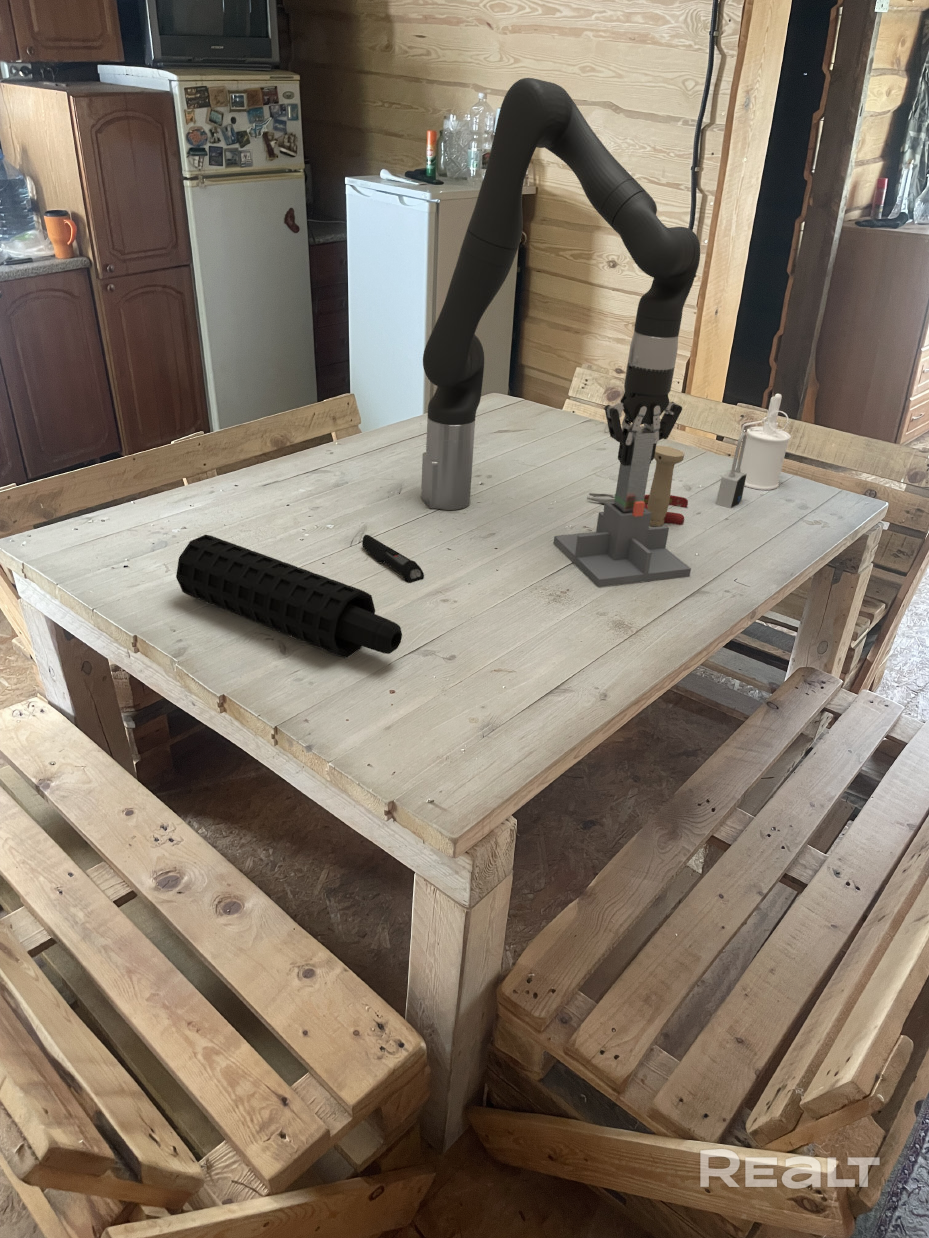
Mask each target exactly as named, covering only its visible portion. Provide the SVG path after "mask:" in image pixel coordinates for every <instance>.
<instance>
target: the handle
mask: <svg viewBox="0 0 929 1238" xmlns="http://www.w3.org/2000/svg"><path fill="white" fill-rule="evenodd" d="M684 457H685V453H684V451H681V450H679V449H678V448H674V447H671V446H665V445H656V450H655V456H654V459H653V460H655V463H656V465H655V469H654V474H653V479H652V483H651V487H650V491H649V494H648V495H649V500H648V511H650V512H651V513H652V514H651V519H650V525H649V527H662V526H663V525H664V520H665V519H664V518H665V515H666V513H667V512H668V508H669V506H670V505H669V500H670V495H671V492H672V491H671V490H672V483H673V476H674V470H675V469H674V468H675V465H677V464H679V463H682V462H683V461H684Z"/></svg>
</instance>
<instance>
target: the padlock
mask: <svg viewBox="0 0 929 1238" xmlns="http://www.w3.org/2000/svg"><path fill="white" fill-rule="evenodd" d="M746 438H747V432H743V433H742V434H741V433H740V436H739V437H738V439H737V444H736V446H735V447H736V448H735V451H734V457H733V461H732V466H731V470H728V471H726V472H725V473H724V474H723V475H722V476H721V479H720V484H719V487H718V488H719V489H718V492H717V497H716V501H715V505H717V506H721V507H725V508H728V509H732V508H734V507H736V506H737V505H739V503H740V502H741V501H742V499H743V495H744V490H745V486H744V485H745V480H746V475H747V474H746V473H742V472H740V471H741V469H740V467H741V462H742V458H743V453H744V448H745V444H746ZM739 449H740V450H739Z"/></svg>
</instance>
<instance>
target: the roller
mask: <svg viewBox="0 0 929 1238" xmlns="http://www.w3.org/2000/svg"><path fill="white" fill-rule="evenodd" d="M175 578H176V580H177V582H178V585H179V587H180V589H181V592H182V593H184V594H185V595H187V596H190V597H192V598H195V599H197V600H199V601H202V602H205V603H207V604H209V605H212V606H214V607H217V608H218V609H222V610H224V611H227V612H230V613H232V614H234V615H236V616H238V617H242V618H244V619H246V620H248V621H251V622H254V623H257V624H260V625H261V626H263V627H265V628H268V629H270V630H274V631H276V632H278V633H280V634H283V635H285V636H288V637H291V638H292V639H295V640H298V641H300V642H303V643H305V644H308V645H311V646H312V647H315V648H318V649H321V650H323V651H325V652H326V653H327V652H328V653H330V654H333V655H334V656H338V657H342V658H346V659H347V658H349V657H351V656H352V655H354V654H355V653H357V652H358V651H359V650H361V649H362V647H364V648H367V649H369V650H372V651H376V652H378V653H382V654H385V655H386V654H387V655H391V654H392V653H393V652H395V651H396V650H397V649H398V648H399V646H400V645H401V642H402V638H403V632H402V628H401V626H400V624H398V623H396V622H394V621H392V620H390V619H388V618H386V617H383V616H382V615H381V616H380V615H378V614H375V613H376V609H375V604H374V600H373V595H371V594H370V593H369V592H366V591H364V590H363V589H360V588H358V587H355V586H352V585H348V584H345V583H344V582H340V581H338V580H335V579H331V578H329V577H327V576H324V575H321V574H319V573H314V572H313V571H311V570H308V569H305V568H302V567H299V566H295V565H293V564H290V563H288V562H286V561H282V560H279V559H276V558H274V557H272V556H267V555H266V554H263V553H259V552H257V551H254V550H251V549H249V548H246V547H243V546H240V545H237V544H235V543H232V542H231V541H227V540H224V539H221V538H219V537H216V536H214V535H209V534H204V535H201V536H199V537H197V538H196V537H195V538H194V539H192V540H190V541H189V542H188V544H187V545H186V546H185V548H184V549H183V551H182V552H181V554H180V555H179V557H178V562H177V569H176V573H175Z"/></svg>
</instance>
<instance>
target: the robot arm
mask: <svg viewBox="0 0 929 1238" xmlns="http://www.w3.org/2000/svg"><path fill="white" fill-rule="evenodd" d="M494 129H495V130H494V134H493V139H492V144H491V148H490V153H489V157H488V161H487V164H486V169H485V173H484V175H483V179H482V182H481V185H480V189H479V192H478V195H477V198H476V202H475V205H474V209H473V212H472V215H471V217H470V220H469V222H468V225H467V229H466V231H465V235H464V237H463V238H464V239H463V241H462V244H461V246H460V251H459V253H458V258H457V261H456V264H455V267H454V270H453V274H452V276H451V279H450V281H449V282H450V283H449V286H448V289H447V293H446V296H445V299H444V302H443V306H442V308H441V310H440V313H439V314H438V317H437V320H436V322H435V324H434V327H433V329H432V332H431V334H430V335H429V338H428V340H427V342H426V344H425V347H424V351H423V354H422V355H423V356H422V367H423V371H424V374H425V376H426V378H427V379H428V380H429V382H430V383H431V384H433V385H434V386H436V390H435V392H434V394H433V395H432V397H431V398H430V400H429V401H428V404H427V419H426V422H427V424H426V443H425V447H426V448H425V452H423V453H422V460H421V462H422V463H421V465H422V466H421V483H420V484H421V485H420V486H421V487H420V488H421V491H420V499H422V500H423V502H424V503H425V505H426V506H427V507H428V509H431V510H432V509H437V510H445V511H453V510H461V509H465V508H466V507H468V506H469V505H470V503H471V496H472V494H471V491H472V488H471V487H472V476H473V459H474V447H475V446H474V444H475V431H476V430H475V428H476V416H477V415H476V414H477V410H478V407H479V405H480V403H481V399H482V398H481V397H482V390H483V382H484V372H485V371H484V370H485V351H484V348H483V347H484V346H483V345H482V342H481V340H480V338H478V336H477V335H476V332H477V331H476V330H477V328H478V325H480V324H479V323H480V321H481V319H482V318H483V315H484V314H485V312H486V311H487V309H488V307H489V306H490V304H491V303H492V302H493V300H494V298H495V297H496V296H497V294H498V292H500V290H501V288H502V286H503V285H504V282H505V281H506V279H507V278H508V275H509V273H510V271H511V269H512V266H513V263H514V261H515V258H516V255H517V252H518V250H519V247H520V244H521V239H522V235H523V229H524V228H523V227H524V221H523V220H524V219H523V218H524V217H523V216H524V214H523V187H524V182H525V178H526V174H527V173H528V168H529V167H530V164H531V161H532V159H533V155H534V153H535V151H536V150H537V149H536V148H538V149H546V150H547V151H549V152H551V153H552V154H554V155H555V156H557V158H559V159H560V160H561V161H563V162H564V163H565V165H567V166H568V168H570V170H571V171H572V172H573V174H574V175H575V176H576V178H577V180H578V182H579V184H580V185H581V188H582V190H583V193H584V194H585V196H586V198H587V200H588V201H589V203H590V204H591V205H592V207H593V208H594V210H596V212H597V213H598V214H599V215H600V217H602V219H603V220H604V221H605V222H607V224H608V226H610V227H611V228H612V229H613V230H614V231H615V233H616V234H618V235H619V237H620V239H621V240H622V242H623V245H624V246H625V249H626V250H627V252H628V254H629V255H630V257H631V258H632V260H633V262H634V263H635V265H636V266H637V267H638V268H639V269H640V270H641V271H642V272H643V273H645V274H646V275H648V276H649V277H651V278H653V279H652V283H651V286H650V288H649V289H648V290H647V292H645V293H643V295H641V297H640V298H639V302H638V305H637V310H636V316H635V323H634V329H633V335H632V338H631V342H630V345H629V352H628V357H627V366H626V372H625V378H624V385H623V387H624V393H623V396H622V397H621V399H620V402H618V403H615V404H614V405H610V404H606V405H605V407H604V412H605V416H606V417H605V418H606V422H607V423H606V424H607V426H608V431H609V437H610V438H612V439H613V440H615V441H616V442H618V443H619V447H618V453H617V460H618V461H619V463H621V464H622V465H624V466H628V465H629V462H630V456H631V450H632V445H631V443H632V441H633V438H634V433H636V432H638V430H639V427H640V426H641V425H642V426H645V428H648V429H650V430H651V431H652V432H655V438H654V443H653V449H652V455H651V461H650V465H651V464H652V461H654V460H655V459H654V456H655V450H656V446H657V444H658V443H659V441H661V440H667V439H668V438H669V436H670V435H671V433H672V430H673V429H674V428H675V425H676V423H677V421H678V420H679V417H680V414H681V413H682V411H683V407H682V406H681V405H679V404H678V403H676V402H674V401H670V399H669V393H670V392H671V391H672V385H673V379H674V373H675V367H676V363H677V362H676V361H677V356H678V355H677V354H678V349H679V348H678V347H679V336H680V332H681V331H680V329H681V324H682V317H683V311H684V306H685V303H686V302H687V300H688V299H687V298H688V297H689V294H690V292H691V289H692V286H693V283H694V280H695V278H696V275H697V272H698V269H699V265H700V260H701V245H700V241H699V237H698V236H697V234H696V233H695V232H694V230H692V229H691V228H689V227H687V226H686V227H685V226H673V227H672V226H671V227H667V226H666V225H665V224H664V223H663V222H662V221H661V220H660V219H659V217H658V216H657V212H658V207H657V202H656V201H655V200H654V199H653V197H652V196H651V195H650V193H648V192H647V190H646V189H645V188H644V187H643V186H642V185H641V184H640V183H639V182H638V181H637V180H636V178H634V177H633V175H631V174H630V173H629V172H628V171H627V169H626V168H625V167H623V166H622V164H621V163H620V162H619V161H618V160H617V159H616V158H615V157H614V155H612V153H611V152H610V151H609V150H608V149H607V147H606V146H605V145H604V144H603V142H602V140H601V139H600V138H599V137H598V136H597V135H596V133H595V132H594V130H593V129H592V127H591V126H590V124H588V122H587V120H586V118H585V117H584V115H583V113H582V111H581V110H580V109H579V107H578V106H577V104H576V102H575V101H574V100H573V98H572V97H571V96H570V94H569V93H568V92H567V91H566V89H565V88H563V87H562V86H561V85H559V84H556V83H555V82H551V81H547V80H542V79H537V78H533V77H524V78H523V77H522V78H520V79H518V80H517V81H515V82H514V83H513V84H512V85H511V87H509V89H508V90H507V92H506V93H505V96H504V98H503V100H502V103H501V106H500V109H499V112H498V116H497V120H496V126H495V128H494ZM622 411H623V413H624V417H623V418H622V416H623V415H622ZM661 415H662V417H661ZM621 418H622V419H623V420H622V423H621Z"/></svg>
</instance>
